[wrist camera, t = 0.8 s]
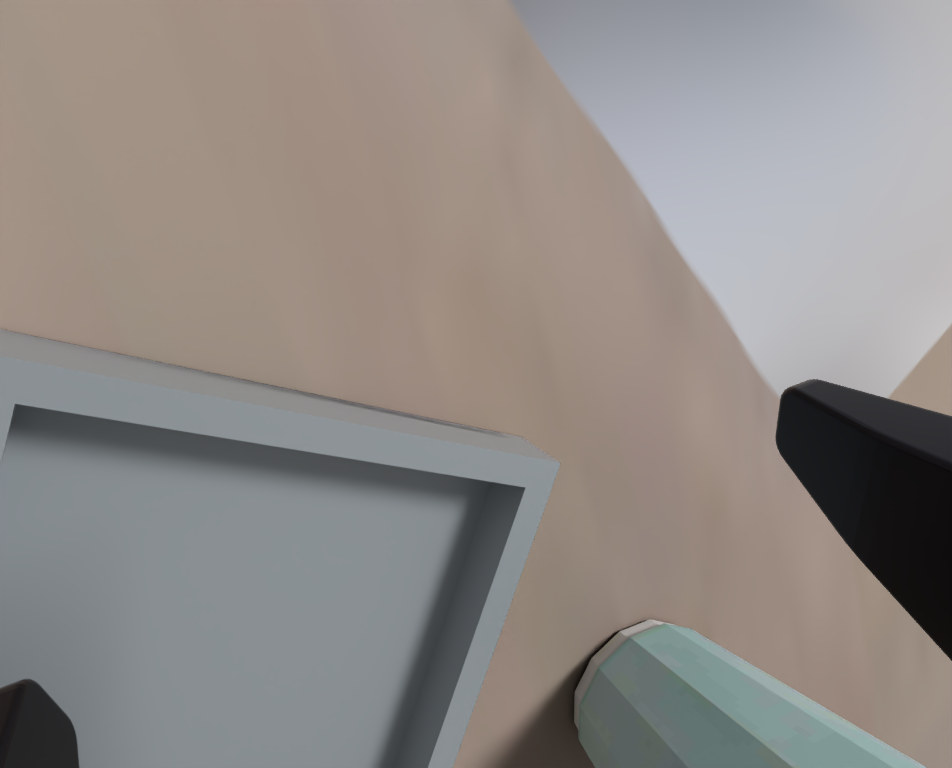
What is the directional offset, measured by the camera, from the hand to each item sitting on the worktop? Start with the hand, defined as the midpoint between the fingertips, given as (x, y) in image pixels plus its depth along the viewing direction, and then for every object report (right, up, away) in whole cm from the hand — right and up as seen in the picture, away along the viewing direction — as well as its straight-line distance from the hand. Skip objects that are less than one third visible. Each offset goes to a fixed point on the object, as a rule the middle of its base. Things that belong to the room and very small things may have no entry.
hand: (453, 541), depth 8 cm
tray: (-7, -6, +14) cm, 17 cm away
